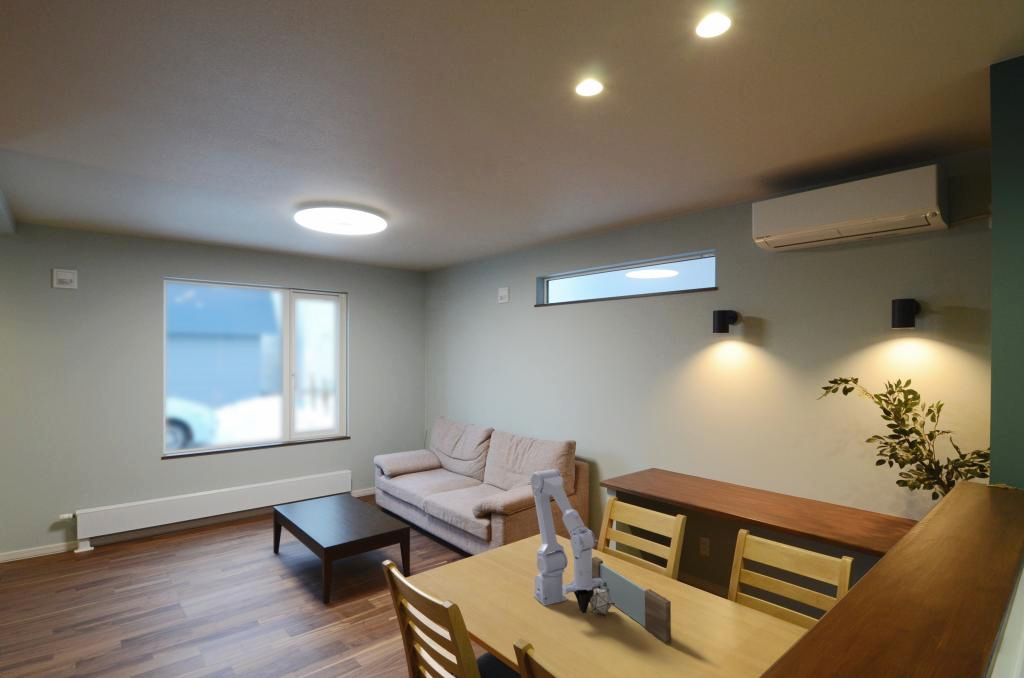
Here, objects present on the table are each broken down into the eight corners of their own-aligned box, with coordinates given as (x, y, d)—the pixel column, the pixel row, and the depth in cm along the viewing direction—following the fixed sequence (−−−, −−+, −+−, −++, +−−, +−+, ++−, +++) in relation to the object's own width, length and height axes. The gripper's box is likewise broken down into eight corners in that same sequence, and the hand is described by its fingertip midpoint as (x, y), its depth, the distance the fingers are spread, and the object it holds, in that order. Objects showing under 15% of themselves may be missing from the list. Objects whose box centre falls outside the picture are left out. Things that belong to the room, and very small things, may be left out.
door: (643, 628, 159) (643, 592, 159) (598, 595, 180) (597, 564, 180) (648, 626, 159) (647, 591, 160) (602, 594, 181) (602, 563, 181)
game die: (600, 627, 166) (593, 610, 161) (586, 607, 173) (578, 590, 169) (622, 611, 168) (615, 593, 164) (607, 591, 176) (600, 574, 171)
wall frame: (665, 644, 150) (665, 602, 151) (592, 591, 184) (591, 557, 184) (671, 642, 151) (670, 601, 151) (596, 590, 185) (596, 556, 185)
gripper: (570, 578, 159) (570, 622, 159) (608, 569, 166) (608, 612, 165) (558, 569, 166) (559, 612, 165) (596, 562, 172) (596, 602, 171)
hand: (583, 611), depth 166 cm, fingers closed
